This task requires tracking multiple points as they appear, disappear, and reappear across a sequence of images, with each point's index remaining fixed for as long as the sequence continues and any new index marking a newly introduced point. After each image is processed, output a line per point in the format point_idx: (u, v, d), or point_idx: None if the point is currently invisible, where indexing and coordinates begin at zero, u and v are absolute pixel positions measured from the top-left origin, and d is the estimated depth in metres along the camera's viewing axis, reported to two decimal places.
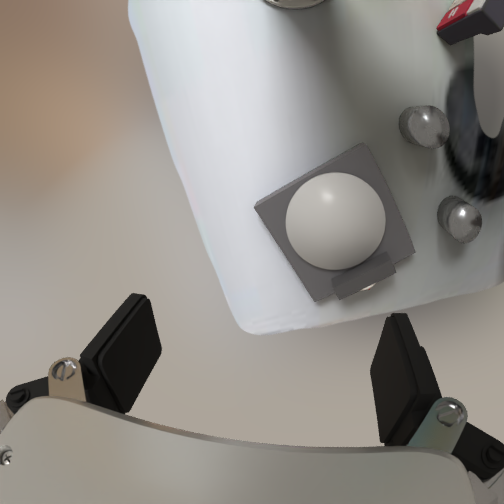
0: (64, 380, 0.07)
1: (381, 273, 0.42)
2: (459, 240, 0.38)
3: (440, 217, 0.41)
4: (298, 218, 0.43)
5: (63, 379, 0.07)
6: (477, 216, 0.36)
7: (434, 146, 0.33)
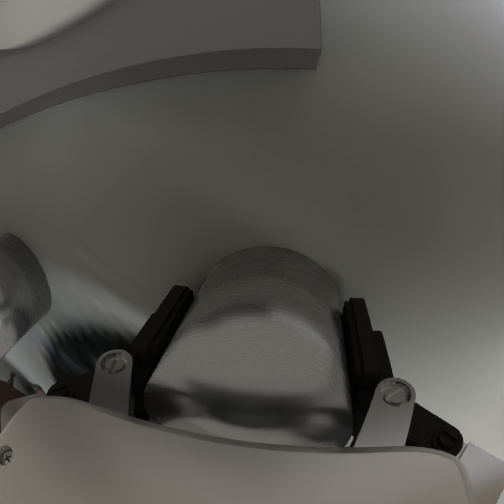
0: (111, 373, 0.07)
1: None
2: None
3: (1, 245, 0.12)
4: None
5: (111, 372, 0.08)
6: None
7: (152, 399, 0.07)
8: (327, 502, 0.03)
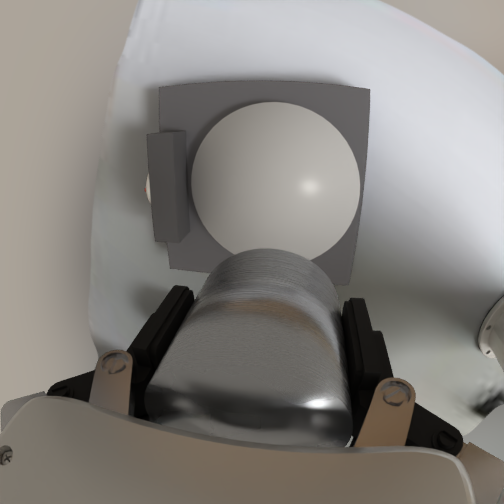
0: (112, 373, 0.07)
1: (161, 220, 0.26)
2: None
3: None
4: (317, 139, 0.23)
5: (111, 372, 0.08)
6: None
7: (153, 400, 0.07)
8: (327, 502, 0.03)
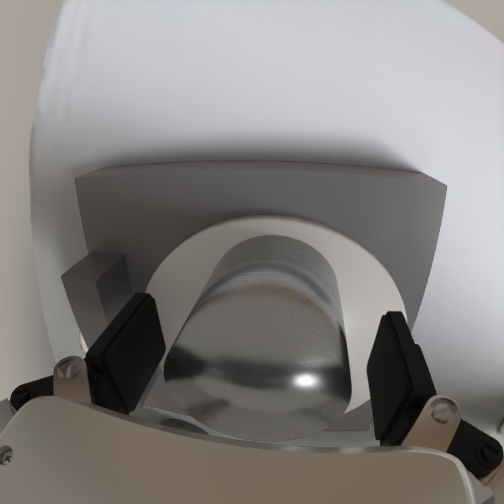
0: (69, 379, 0.07)
1: None
2: None
3: None
4: (348, 289, 0.13)
5: (68, 378, 0.07)
6: None
7: (172, 367, 0.09)
8: (327, 502, 0.03)
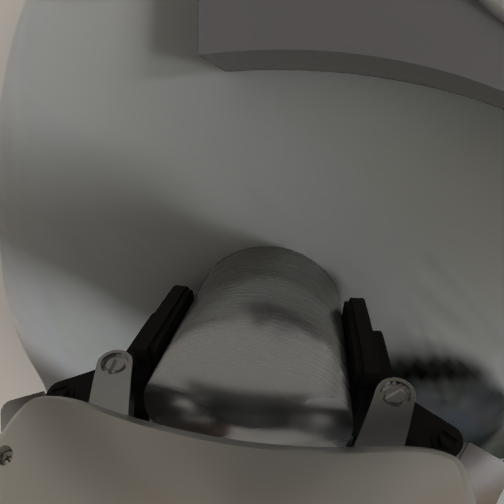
0: (112, 373, 0.07)
1: None
2: (171, 376, 0.07)
3: (293, 268, 0.10)
4: None
5: (111, 372, 0.08)
6: None
7: None
8: (327, 502, 0.03)
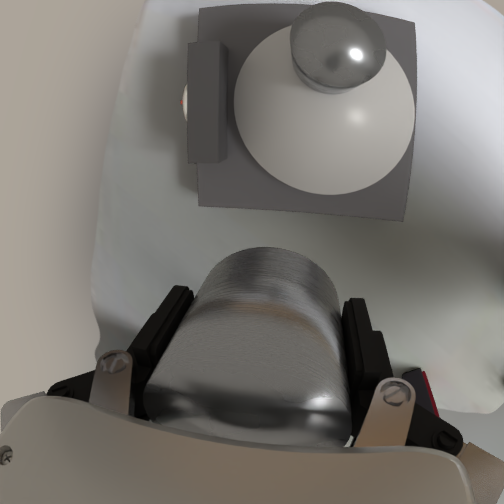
0: (112, 373, 0.07)
1: (199, 136, 0.22)
2: (170, 376, 0.07)
3: (292, 268, 0.10)
4: None
5: (111, 372, 0.08)
6: None
7: (296, 26, 0.14)
8: (327, 502, 0.03)
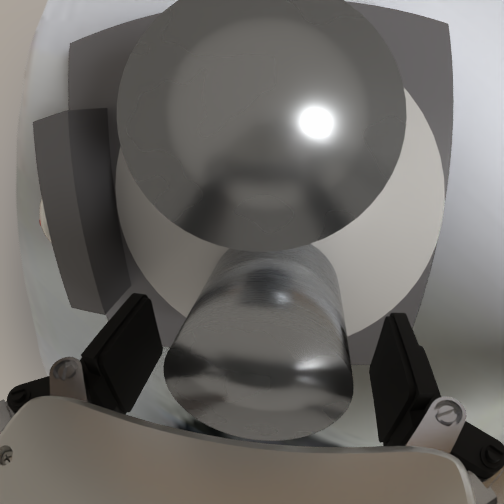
0: (65, 380, 0.07)
1: (72, 274, 0.13)
2: (192, 339, 0.08)
3: (297, 250, 0.11)
4: None
5: (64, 379, 0.07)
6: (267, 432, 0.09)
7: (131, 79, 0.05)
8: (327, 502, 0.03)
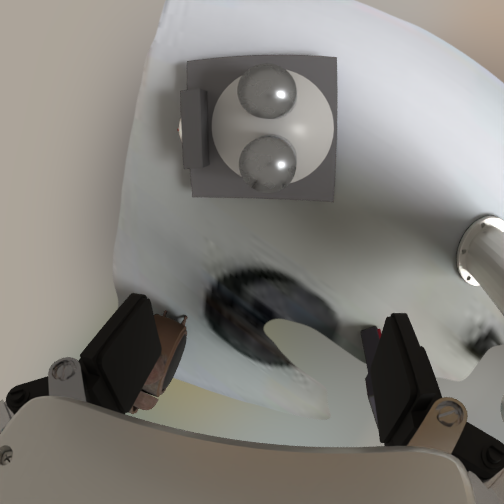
0: (64, 380, 0.07)
1: (189, 151, 0.35)
2: (250, 144, 0.29)
3: (279, 136, 0.33)
4: (300, 91, 0.31)
5: (63, 379, 0.07)
6: (271, 186, 0.31)
7: (241, 83, 0.27)
8: (327, 502, 0.03)
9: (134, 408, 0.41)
